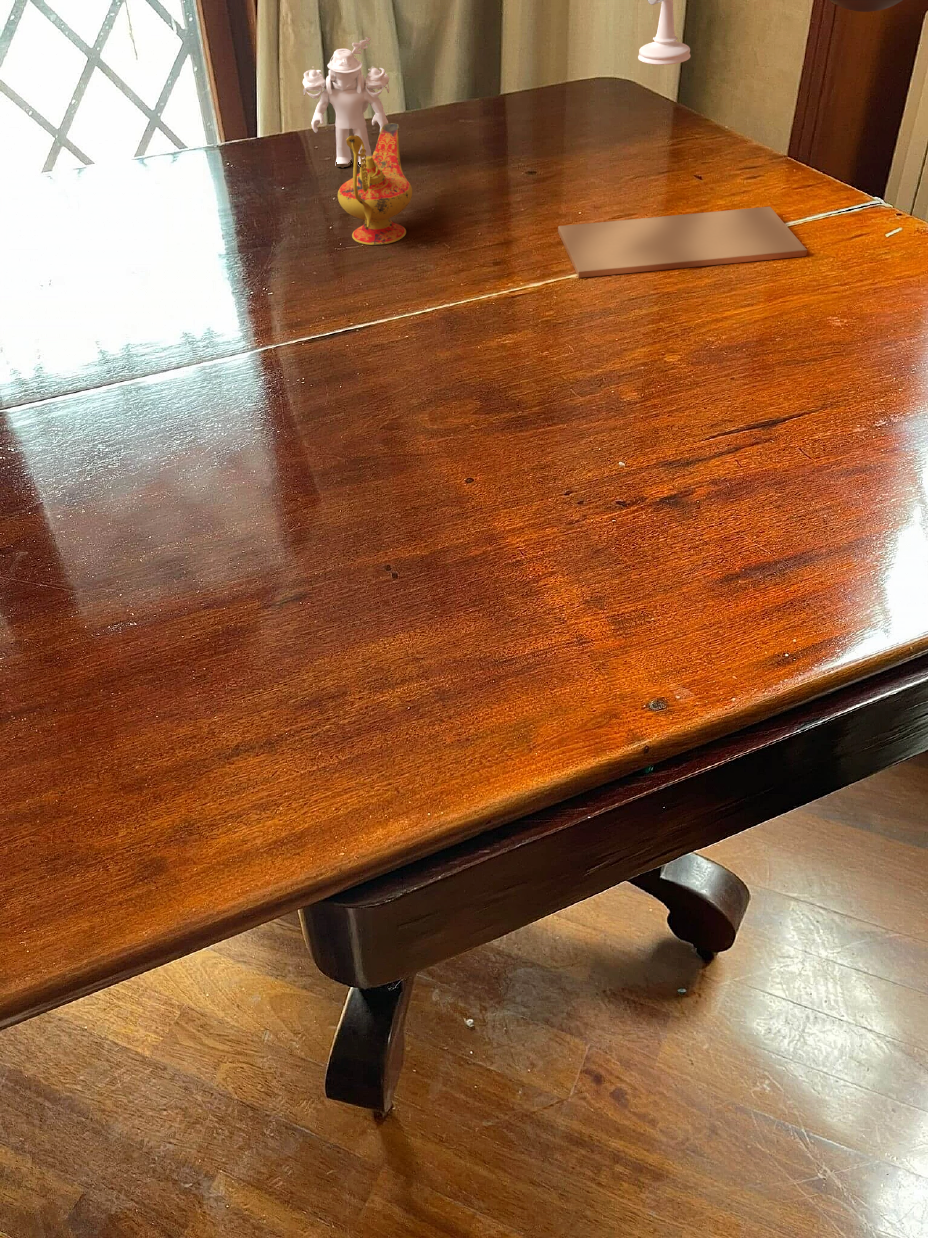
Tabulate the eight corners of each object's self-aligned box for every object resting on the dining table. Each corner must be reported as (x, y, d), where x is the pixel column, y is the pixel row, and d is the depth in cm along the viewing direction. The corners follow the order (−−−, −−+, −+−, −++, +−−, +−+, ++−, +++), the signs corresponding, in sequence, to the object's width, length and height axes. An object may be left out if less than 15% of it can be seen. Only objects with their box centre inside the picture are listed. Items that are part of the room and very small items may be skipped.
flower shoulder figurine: (397, 155, 118) (387, 33, 110) (394, 168, 115) (382, 43, 108) (315, 157, 119) (299, 36, 111) (309, 170, 116) (292, 47, 108)
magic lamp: (432, 191, 110) (424, 73, 103) (401, 267, 97) (390, 138, 90) (365, 191, 111) (353, 74, 104) (326, 266, 98) (308, 139, 90)
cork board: (769, 212, 102) (770, 206, 102) (806, 256, 95) (807, 249, 94) (557, 232, 101) (557, 225, 101) (578, 278, 94) (578, 271, 93)
